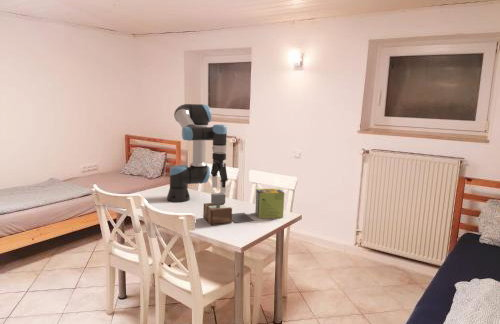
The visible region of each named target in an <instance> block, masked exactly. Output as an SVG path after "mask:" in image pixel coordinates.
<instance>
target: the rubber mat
mask: <svg viewBox="0 0 500 324" xmlns="http://www.w3.org/2000/svg"><path fill="white" fill-rule="evenodd" d="M254 221H255V219H254V218H252V217H251V216H249V215H248V214H247V213H245V212H237V213H232V223H235V224H240V223H248V222H254Z"/></svg>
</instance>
